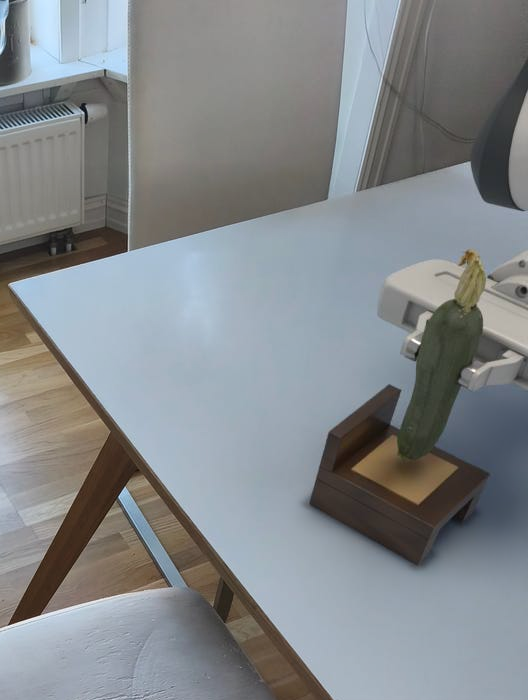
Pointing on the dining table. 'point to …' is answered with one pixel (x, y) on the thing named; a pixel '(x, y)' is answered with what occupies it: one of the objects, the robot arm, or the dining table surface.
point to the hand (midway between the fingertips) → (437, 365)
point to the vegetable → (443, 362)
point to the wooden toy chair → (391, 482)
